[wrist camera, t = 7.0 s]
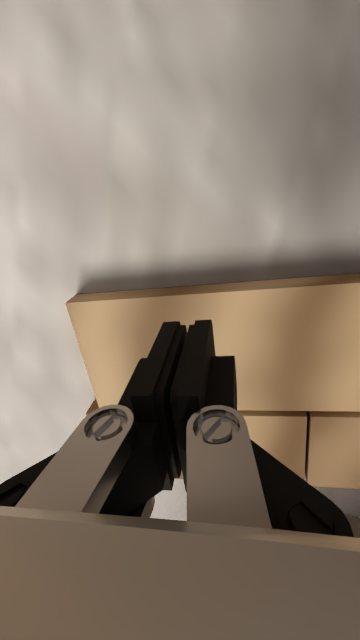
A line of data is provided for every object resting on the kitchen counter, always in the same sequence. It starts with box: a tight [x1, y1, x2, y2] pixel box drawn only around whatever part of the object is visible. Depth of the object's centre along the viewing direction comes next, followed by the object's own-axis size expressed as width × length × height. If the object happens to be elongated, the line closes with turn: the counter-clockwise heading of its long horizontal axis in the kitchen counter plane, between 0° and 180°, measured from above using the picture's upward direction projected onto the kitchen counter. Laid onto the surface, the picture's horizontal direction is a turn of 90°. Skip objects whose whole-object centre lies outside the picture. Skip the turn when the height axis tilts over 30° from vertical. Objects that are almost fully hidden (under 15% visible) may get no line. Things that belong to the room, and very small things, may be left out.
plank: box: [66, 273, 360, 412], centre depth 15 cm, size 24×7×1 cm, turn 99°
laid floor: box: [86, 401, 360, 489], centre depth 18 cm, size 26×6×1 cm, turn 99°
